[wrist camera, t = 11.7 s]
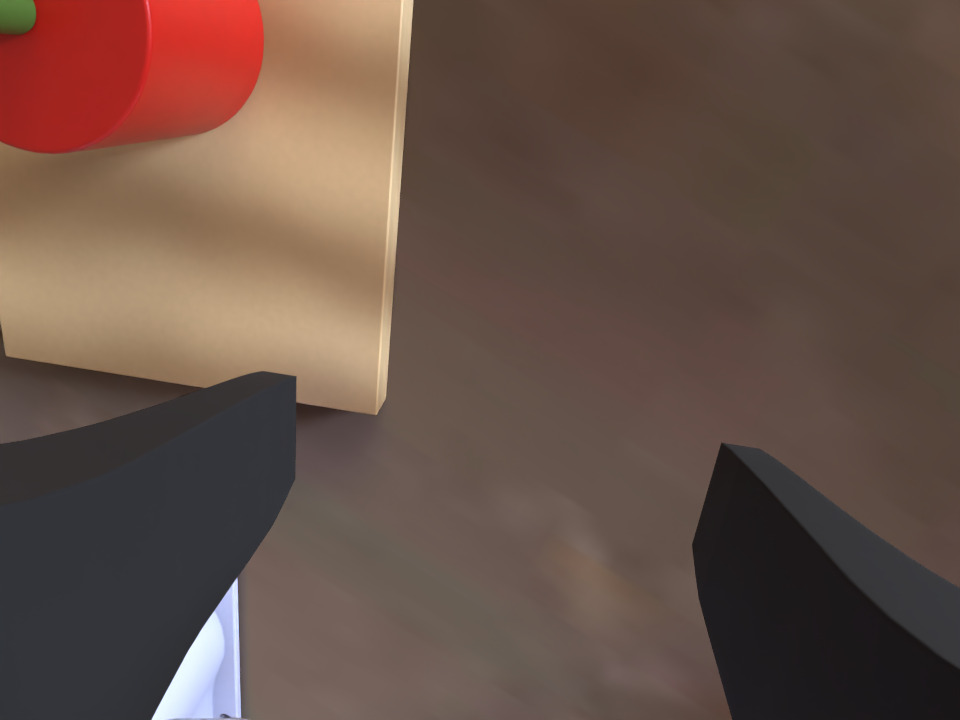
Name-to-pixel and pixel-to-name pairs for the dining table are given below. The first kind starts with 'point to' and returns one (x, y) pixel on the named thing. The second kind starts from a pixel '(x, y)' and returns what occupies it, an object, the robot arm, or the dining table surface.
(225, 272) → the cutting board
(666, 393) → the dining table surface
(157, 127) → the pepper
